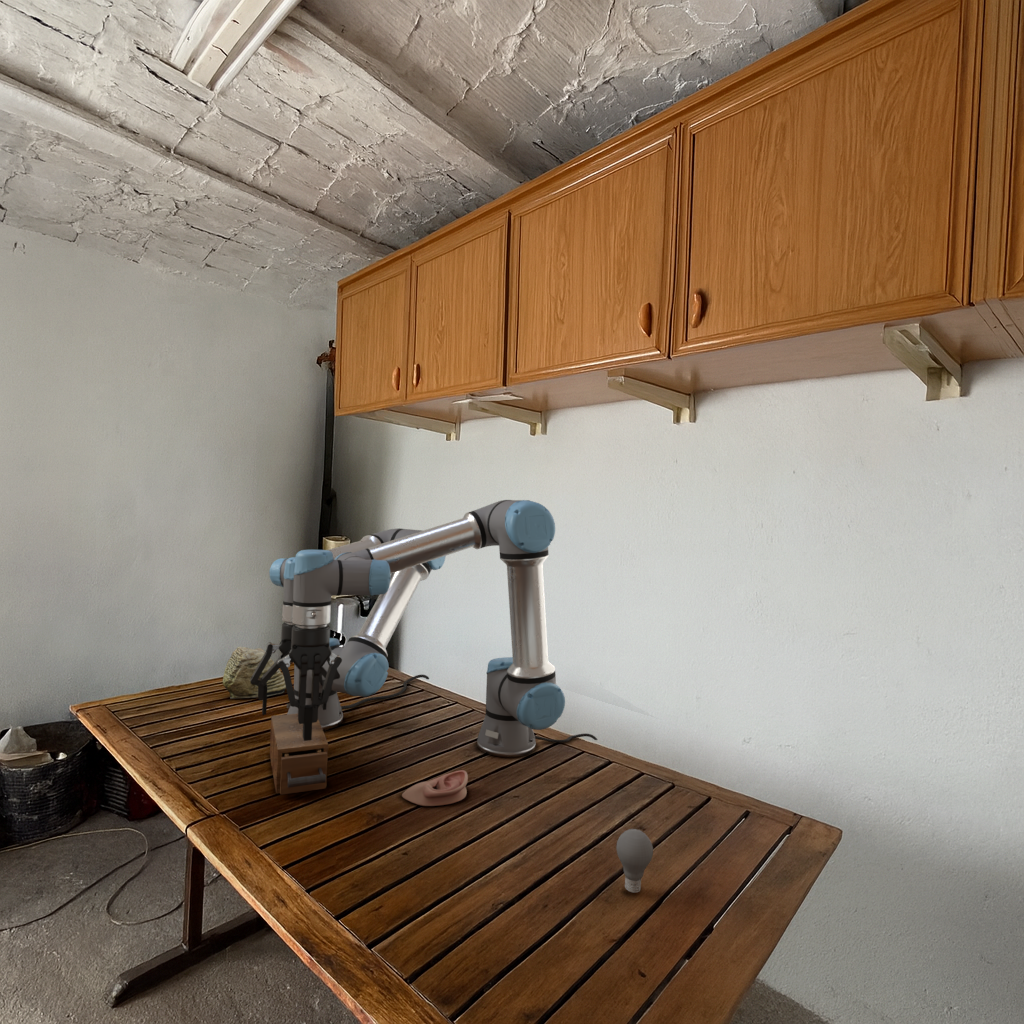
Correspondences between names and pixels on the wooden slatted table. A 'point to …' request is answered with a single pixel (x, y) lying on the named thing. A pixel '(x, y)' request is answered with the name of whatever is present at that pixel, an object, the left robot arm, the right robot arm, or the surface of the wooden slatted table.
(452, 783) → the anatomical model
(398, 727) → the wooden slatted table surface
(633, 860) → the light bulb
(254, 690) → the fossil
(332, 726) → the left robot arm
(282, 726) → the cabinet
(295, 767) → the drawer
